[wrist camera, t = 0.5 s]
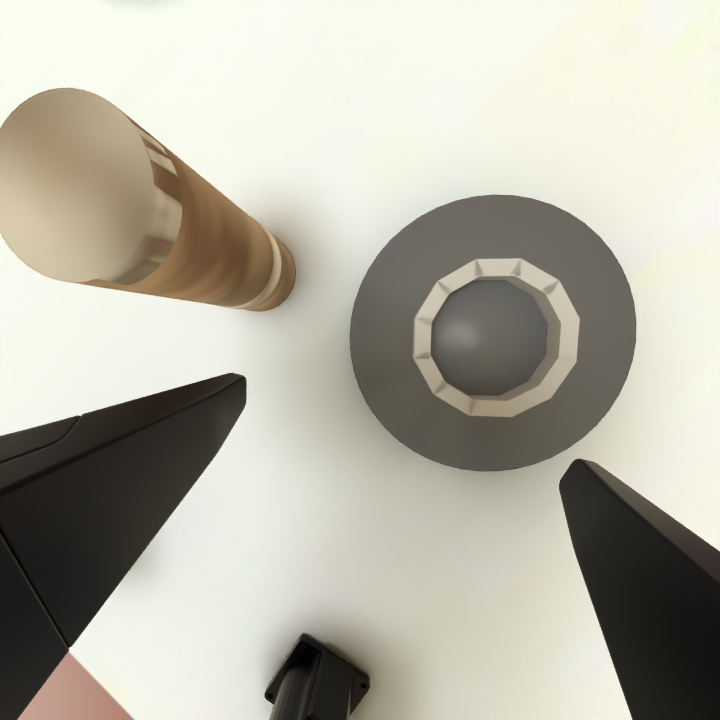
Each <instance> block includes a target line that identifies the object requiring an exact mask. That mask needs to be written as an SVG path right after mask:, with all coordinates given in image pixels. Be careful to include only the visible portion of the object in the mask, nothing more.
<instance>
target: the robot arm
mask: <svg viewBox="0 0 720 720" xmlns="http://www.w3.org/2000/svg"><path fill="white" fill-rule="evenodd" d="M245 405H246V378H245V377H244V376H243V375H239V374H235V373H228V374H224V375H221V376H217V377H214V378H210V379H206V380H203V381H199V382H196V383H192V384H189V385H185V386H181V387H178V388H174V389H171V390H167V391H164V392H160V393H156V394H153V395H149V396H146V397H142V398H139V399H135V400H131V401H128V402H124V403H121V404H117V405H114V406H110V407H106V408H103V409H99V410H96V411H92V412H88V413H85V414H82V415H81V416H74V417H70V418H67V419H63V420H60V421H56V422H52V423H49V424H45V425H41V426H37V427H34V428H30V429H26V430H22V431H18V432H14V433H10V434H6V435H2V436H0V720H17V719H18V717H19V716H20V715H21V714H22V712H23V711H24V710H25V708H26V707H27V706H28V704H29V703H30V702H31V700H32V699H33V698H34V696H35V695H36V694H37V692H38V691H39V690H40V688H41V687H42V686H43V684H44V683H45V682H46V680H47V679H48V678H49V676H50V675H51V674H52V672H53V671H54V670H55V669H56V667H57V666H58V665H59V663H60V662H61V660H62V659H63V658H64V657H65V655H66V654H67V653H68V651H69V647H71V646H72V645H73V644H74V643H75V641H76V640H77V639H78V638H79V636H80V635H81V634H82V632H83V631H84V630H85V628H86V627H87V626H88V624H89V623H90V622H91V620H92V619H93V618H94V616H95V615H96V614H97V612H98V611H99V610H100V608H101V607H102V606H103V604H104V603H105V602H106V600H107V599H108V598H109V596H110V595H111V594H112V592H113V591H114V590H115V588H116V587H117V586H118V584H119V583H120V582H121V580H122V579H123V578H124V576H125V575H126V574H127V572H128V571H129V570H130V569H131V567H132V566H133V565H134V563H135V562H136V561H137V559H138V558H139V557H140V555H141V554H142V553H143V551H144V550H145V549H146V547H147V546H148V545H149V543H150V542H151V541H152V539H153V538H154V537H155V535H156V534H157V533H158V531H159V530H160V529H161V527H162V526H163V525H164V523H165V522H166V521H167V519H168V518H169V517H170V515H171V514H172V513H173V511H174V510H175V509H176V507H177V506H178V505H179V504H180V502H181V501H182V500H183V498H184V497H185V496H186V494H187V493H188V492H189V490H190V489H191V488H192V486H193V485H194V484H195V482H196V481H197V480H198V478H199V477H200V476H201V474H202V473H203V472H204V470H205V469H206V468H207V466H208V465H209V464H210V462H211V461H212V460H213V458H214V457H215V456H216V454H217V453H218V451H219V450H220V448H221V446H222V445H223V443H224V441H225V440H226V438H227V436H228V435H229V433H230V431H231V430H232V428H233V426H234V425H235V423H236V421H237V420H238V418H239V416H240V414H241V413H242V411H243V409H244V407H245ZM559 490H560V494H561V499H562V503H563V507H564V511H565V515H566V520H567V524H568V528H569V532H570V536H571V540H572V544H573V548H574V551H575V554H576V557H577V560H578V563H579V566H580V569H581V572H582V575H583V578H584V581H585V584H586V586H587V589H588V592H589V595H590V598H591V601H592V604H593V607H594V610H595V612H596V615H597V618H598V621H599V624H600V627H601V630H602V633H603V636H604V639H605V641H606V644H607V647H608V650H609V653H610V656H611V659H612V662H613V665H614V668H615V670H616V673H617V676H618V679H619V682H620V685H621V688H622V691H623V694H624V696H625V699H626V702H627V705H628V708H629V711H630V714H631V717H632V720H720V551H718V550H717V549H715V548H714V547H713V546H711V545H710V544H708V543H707V542H706V541H704V540H703V539H702V538H700V537H699V536H697V535H696V534H695V533H693V532H692V531H690V530H689V529H688V528H686V527H685V526H683V525H682V524H681V523H679V522H678V521H676V520H675V519H674V518H672V517H671V516H669V515H668V514H667V513H665V512H664V511H662V510H661V509H660V508H658V507H657V506H655V505H654V504H653V503H651V502H650V501H649V500H647V499H646V498H644V497H643V496H642V495H640V494H639V493H637V492H636V491H635V490H633V489H632V488H630V487H629V486H628V485H626V484H625V483H623V482H622V481H621V480H619V479H618V478H616V477H615V476H614V475H612V474H611V473H609V472H608V471H607V470H605V469H604V468H602V467H601V466H600V465H598V464H597V463H595V462H591V461H587V460H583V459H576V460H574V461H573V462H572V464H571V465H570V467H569V468H568V470H567V471H566V473H565V474H564V476H563V477H562V478H561V480H560V484H559ZM369 688H370V678H369V677H368V676H367V675H366V674H364V673H363V672H361V671H360V670H358V669H357V668H355V667H354V666H352V665H350V664H349V663H347V662H346V661H344V660H343V659H341V658H340V657H338V656H337V655H335V654H334V653H332V652H330V651H329V650H327V649H326V648H324V647H323V646H321V645H320V644H318V643H317V642H315V641H314V640H312V639H310V638H309V637H307V636H301V637H300V638H299V639H298V641H297V642H296V644H295V645H294V647H293V648H292V650H291V651H290V653H289V654H288V656H287V657H286V659H285V660H284V662H283V664H282V665H281V667H280V668H279V670H278V671H277V673H276V674H275V676H274V677H273V679H272V680H271V682H270V683H269V685H268V686H267V689H266V692H265V694H264V695H265V698H266V700H268V701H269V702H271V703H272V704H274V706H273V709H272V713H271V716H270V719H269V720H349V716H350V715H351V713H352V712H353V711H354V709H355V708H356V707H357V705H358V704H359V702H360V701H361V700H362V698H363V697H364V695H365V694H366V693H367V691H368V690H369Z"/></svg>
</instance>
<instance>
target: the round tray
mask: <svg viewBox="0 0 720 720" xmlns="http://www.w3.org/2000/svg"><path fill="white" fill-rule="evenodd" d="M635 343H636V315H635V306H634V301H633V297H632V293H631V289H630V286H629V283H628V281H627V278H626V276H625V274H624V271H623V269H622V267H621V265H620V264H619V262H618V260H617V259H616V257H615V256H614V254H613V252H612V251H611V250H610V248H609V247H608V246H607V245H606V244H605V242H604V241H603V240H602V239H601V238H600V237H599V236H598V235H597V234H596V233H595V232H594V231H593V230H592V229H591V228H589V227H588V226H587V225H586V224H585V223H583V222H582V221H580V220H579V219H577V218H576V217H574V216H573V215H571V214H570V213H568V212H566V211H564V210H562V209H560V208H557V207H555V206H553V205H551V204H548V203H545V202H542V201H538V200H535V199H532V198H526V197H520V196H514V195H486V196H476V197H470V198H466V199H462V200H457V201H454V202H451V203H449V204H446V205H443V206H440V207H438V208H436V209H434V210H432V211H430V212H428V213H426V214H424V215H422V216H420V217H419V218H417V219H416V220H415V221H413V222H412V223H410V224H409V225H407V226H406V227H405V228H403V229H402V230H401V231H400V232H399V233H398V234H397V235H396V236H395V237H393V238H392V239H391V240H390V241H389V242H388V244H387V245H386V246H385V247H384V248H383V249H382V251H381V252H380V253H379V254H378V256H377V257H376V259H375V260H374V262H373V263H372V265H371V266H370V268H369V269H368V271H367V273H366V275H365V277H364V279H363V281H362V283H361V285H360V288H359V291H358V294H357V297H356V300H355V303H354V308H353V313H352V317H351V327H350V350H351V358H352V364H353V369H354V373H355V376H356V379H357V382H358V385H359V388H360V390H361V392H362V394H363V396H364V398H365V400H366V402H367V404H368V406H369V407H370V409H371V410H372V412H373V413H374V415H375V416H376V418H377V419H378V420H379V421H380V422H381V423H382V425H383V426H384V427H385V428H386V429H387V430H388V431H389V432H390V433H391V434H392V435H393V436H394V437H395V438H397V439H398V440H399V441H400V442H401V443H403V444H404V445H406V446H407V447H409V448H410V449H411V450H413V451H415V452H416V453H418V454H420V455H422V456H424V457H426V458H428V459H430V460H433V461H435V462H438V463H441V464H443V465H447V466H451V467H455V468H459V469H465V470H473V471H503V470H511V469H517V468H521V467H525V466H529V465H533V464H536V463H538V462H541V461H543V460H546V459H549V458H551V457H553V456H555V455H557V454H559V453H560V452H562V451H564V450H566V449H568V448H569V447H571V446H572V445H573V444H575V443H576V442H578V441H579V440H580V439H582V438H583V437H584V436H585V435H586V434H587V433H589V432H590V431H591V430H592V429H593V428H594V427H595V426H596V425H597V424H598V423H599V422H600V420H601V419H602V418H603V417H604V416H605V415H606V413H607V412H608V411H609V410H610V408H611V406H612V405H613V403H614V402H615V400H616V399H617V397H618V396H619V394H620V392H621V389H622V387H623V385H624V383H625V381H626V379H627V376H628V373H629V370H630V367H631V363H632V360H633V355H634V349H635Z"/></svg>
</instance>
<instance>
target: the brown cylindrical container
mask: <svg viewBox="0 0 720 720" xmlns="http://www.w3.org/2000/svg"><path fill="white" fill-rule="evenodd" d="M0 234H1V235H2V237H3V239H4V240H5V242H6V243H7V245H8V246H9V248H10V249H11V250H12V251H13V252H14V254H15V255H16V256H17V257H18V258H19V259H20V260H21V261H23V262H24V263H25V264H26V265H27V266H29V267H30V268H32V269H33V270H34V271H36V272H38V273H40V274H42V275H44V276H47V277H49V278H52V279H55V280H60V281H64V282H71V283H77V284H83V285H90V286H96V287H103V288H109V289H116V290H122V291H129V292H135V293H142V294H148V295H154V296H161V297H167V298H174V299H180V300H187V301H193V302H200V303H206V304H212V305H217V306H221V307H226V308H233V309H245V310H251V311H267V310H270V309H273V308H275V307H277V306H278V305H280V304H281V303H282V302H283V301H284V300H285V299H286V298H287V297H288V295H289V294H290V292H291V290H292V288H293V285H294V281H295V265H294V261H293V258H292V256H291V254H290V252H289V251H288V249H287V248H286V247H285V245H284V244H282V243H281V242H280V241H279V240H278V239H277V238H275V237H274V236H273V235H272V234H271V233H270V232H269V231H268V230H267V229H266V228H264V227H263V226H262V225H261V224H260V223H258V222H257V221H256V220H255V219H253V218H252V217H250V216H249V215H247V214H246V213H245V212H244V211H243V210H241V209H240V208H239V207H238V206H236V205H235V204H234V203H233V202H232V201H230V200H229V199H228V198H227V197H226V196H224V195H223V194H222V193H221V192H219V191H218V190H217V189H216V188H215V187H213V186H212V185H211V184H210V183H208V182H207V181H206V180H205V179H204V178H202V177H201V176H200V175H199V174H198V173H196V172H195V171H194V170H193V169H191V168H190V167H189V166H188V165H187V164H185V163H184V162H183V161H182V160H180V159H179V158H178V157H177V156H176V155H174V154H173V153H172V152H171V151H170V150H168V149H167V148H166V147H165V146H163V145H162V144H161V143H160V142H159V141H157V140H156V139H155V138H154V137H153V136H151V135H150V134H149V133H148V132H146V131H145V130H144V129H143V128H142V127H140V126H139V125H138V124H137V123H135V122H134V121H133V120H132V119H131V118H129V117H128V116H127V115H126V114H125V113H123V112H122V111H121V110H120V109H118V108H117V107H116V106H115V105H113V104H112V103H110V102H109V101H107V100H106V99H104V98H102V97H100V96H98V95H96V94H94V93H91V92H88V91H85V90H81V89H74V88H58V89H51V90H47V91H44V92H41V93H38V94H36V95H34V96H32V97H30V98H29V99H27V100H26V101H24V102H23V103H22V104H20V105H19V106H18V107H17V108H16V109H15V110H14V111H13V112H12V113H11V114H10V115H9V116H8V118H7V119H6V120H5V121H4V123H3V125H2V126H1V128H0Z"/></svg>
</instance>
